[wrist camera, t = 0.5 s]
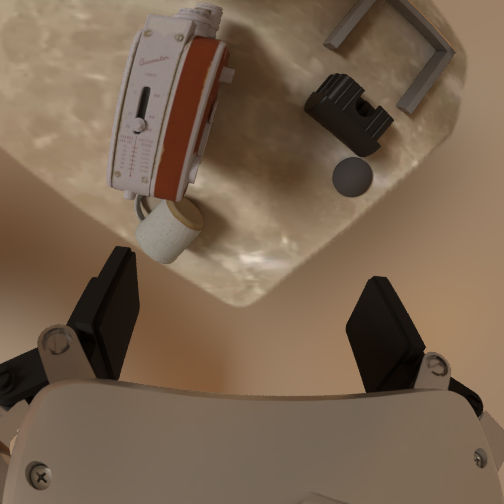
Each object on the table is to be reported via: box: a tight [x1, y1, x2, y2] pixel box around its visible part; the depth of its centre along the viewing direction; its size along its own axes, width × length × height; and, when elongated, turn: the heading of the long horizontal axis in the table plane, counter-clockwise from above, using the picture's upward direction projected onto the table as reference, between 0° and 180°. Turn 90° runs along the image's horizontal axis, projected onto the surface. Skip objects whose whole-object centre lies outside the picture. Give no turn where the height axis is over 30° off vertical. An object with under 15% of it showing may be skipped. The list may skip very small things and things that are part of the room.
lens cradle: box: [323, 0, 456, 114], centre depth 30 cm, size 15×14×3 cm
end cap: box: [304, 73, 394, 157], centre depth 35 cm, size 10×7×7 cm
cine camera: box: [107, 3, 235, 202], centre depth 26 cm, size 9×19×20 cm, turn 162°
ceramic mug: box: [134, 194, 204, 264], centre depth 42 cm, size 11×8×8 cm
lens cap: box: [333, 157, 372, 197], centre depth 43 cm, size 6×6×1 cm
